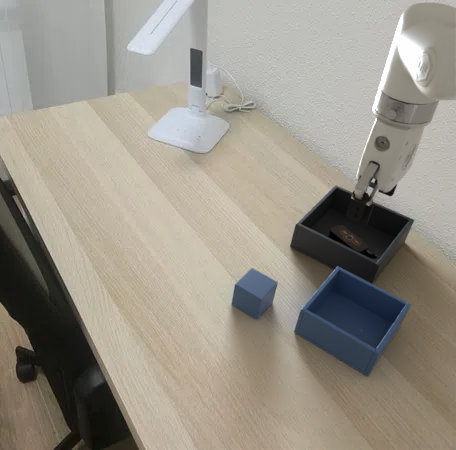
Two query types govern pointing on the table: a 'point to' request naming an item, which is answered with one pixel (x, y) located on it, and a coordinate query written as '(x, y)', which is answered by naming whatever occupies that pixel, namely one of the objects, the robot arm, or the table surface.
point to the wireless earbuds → (350, 241)
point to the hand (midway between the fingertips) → (369, 206)
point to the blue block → (254, 293)
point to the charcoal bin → (371, 234)
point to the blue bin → (351, 319)
